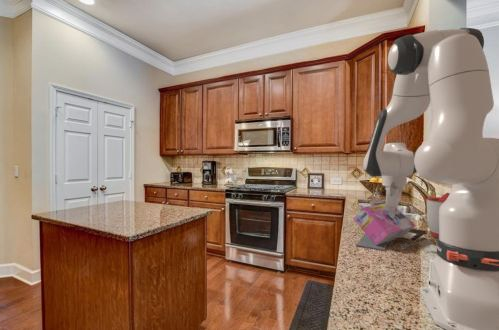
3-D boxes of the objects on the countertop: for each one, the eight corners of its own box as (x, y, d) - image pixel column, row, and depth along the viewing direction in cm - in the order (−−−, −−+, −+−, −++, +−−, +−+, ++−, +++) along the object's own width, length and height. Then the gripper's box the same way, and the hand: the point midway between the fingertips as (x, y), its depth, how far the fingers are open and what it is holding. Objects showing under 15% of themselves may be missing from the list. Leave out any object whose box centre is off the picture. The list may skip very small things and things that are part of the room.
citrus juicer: (482, 240, 103) (482, 193, 103) (458, 245, 96) (457, 195, 96) (442, 230, 117) (441, 189, 117) (418, 235, 111) (418, 191, 111)
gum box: (405, 236, 108) (381, 212, 117) (417, 225, 104) (392, 201, 113) (375, 246, 95) (352, 218, 104) (389, 234, 91) (363, 206, 99)
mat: (384, 251, 91) (384, 249, 91) (356, 246, 97) (356, 244, 97) (391, 235, 110) (391, 234, 110) (367, 232, 116) (367, 231, 116)
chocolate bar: (425, 230, 116) (414, 238, 104) (425, 232, 116) (414, 241, 104) (404, 227, 123) (391, 234, 111) (404, 229, 123) (391, 236, 111)
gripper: (400, 185, 90) (400, 221, 91) (404, 179, 106) (404, 210, 107) (381, 184, 94) (381, 219, 94) (388, 178, 110) (387, 208, 111)
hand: (393, 214), depth 101 cm, fingers open, 8 cm apart
